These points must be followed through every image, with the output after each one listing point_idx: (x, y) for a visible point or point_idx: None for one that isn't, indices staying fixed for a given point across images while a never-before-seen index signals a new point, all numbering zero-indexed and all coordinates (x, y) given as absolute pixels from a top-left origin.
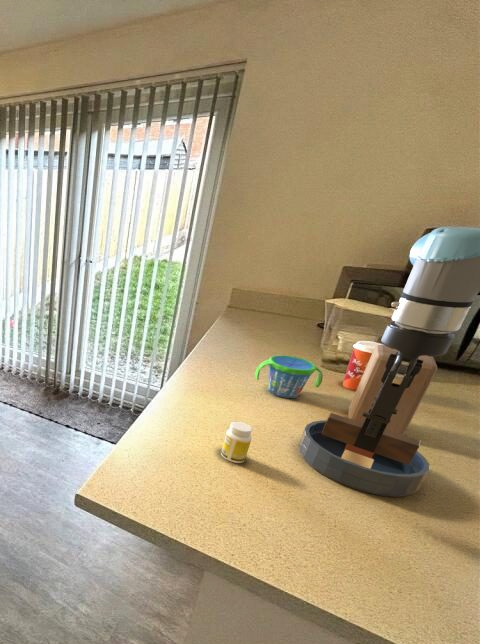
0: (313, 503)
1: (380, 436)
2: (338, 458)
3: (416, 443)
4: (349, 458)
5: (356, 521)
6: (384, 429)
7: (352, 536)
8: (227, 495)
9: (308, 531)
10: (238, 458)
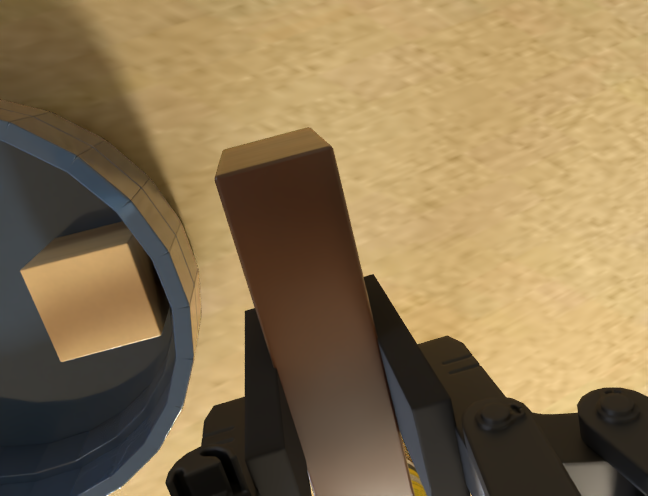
0: (397, 245)
1: (406, 330)
2: (191, 337)
3: (302, 173)
4: (128, 319)
5: (367, 135)
6: (423, 360)
7: (460, 108)
8: (586, 373)
9: (551, 184)
10: (414, 472)
